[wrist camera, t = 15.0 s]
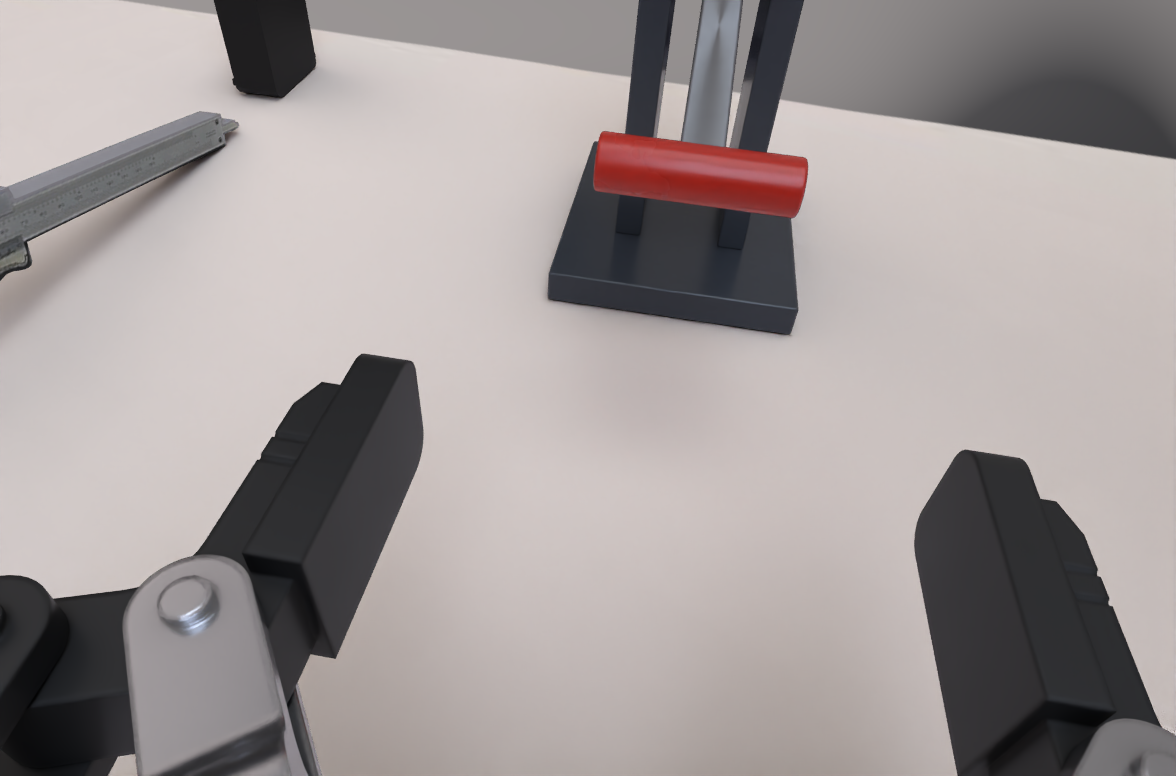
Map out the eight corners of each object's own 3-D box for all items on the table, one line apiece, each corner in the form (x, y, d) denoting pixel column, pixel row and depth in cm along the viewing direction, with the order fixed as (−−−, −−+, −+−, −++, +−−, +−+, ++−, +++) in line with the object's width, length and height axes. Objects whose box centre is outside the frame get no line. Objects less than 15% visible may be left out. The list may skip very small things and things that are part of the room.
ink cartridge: (278, 61, 42) (243, -106, 37) (317, 66, 42) (287, -101, 36) (235, 95, 38) (188, -84, 33) (278, 101, 38) (238, -78, 33)
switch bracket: (790, 335, 27) (938, -116, 18) (547, 299, 28) (562, -156, 18) (780, 189, 35) (879, -176, 25) (591, 164, 36) (619, -202, 26)
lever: (787, 242, 19) (813, 176, 17) (592, 215, 19) (593, 147, 17) (807, -76, 25) (829, -156, 22) (657, -92, 25) (664, -173, 23)
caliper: (-104, 442, 21) (-265, 254, 17) (-141, 436, 21) (-311, 247, 17) (241, 131, 36) (203, -11, 31) (219, 129, 36) (178, -14, 31)
